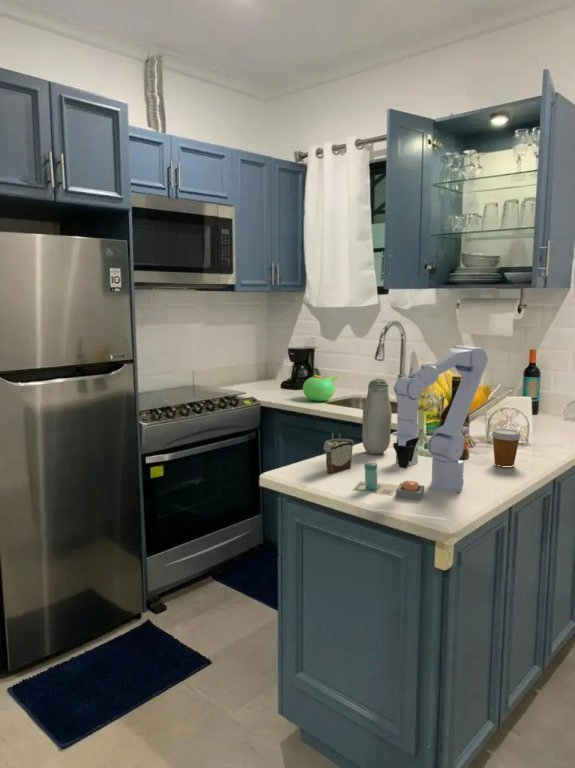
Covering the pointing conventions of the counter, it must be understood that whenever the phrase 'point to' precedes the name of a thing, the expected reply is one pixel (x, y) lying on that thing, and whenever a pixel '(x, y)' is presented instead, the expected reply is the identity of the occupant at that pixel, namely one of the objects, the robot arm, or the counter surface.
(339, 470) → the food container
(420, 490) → the button housing
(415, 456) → the syrup box
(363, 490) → the card sheet
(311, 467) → the counter surface
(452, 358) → the robot arm
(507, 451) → the disposable coffee cup
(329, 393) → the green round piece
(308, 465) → the counter surface
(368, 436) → the grey bottle
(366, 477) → the teal rounded cylinder
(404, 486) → the button
